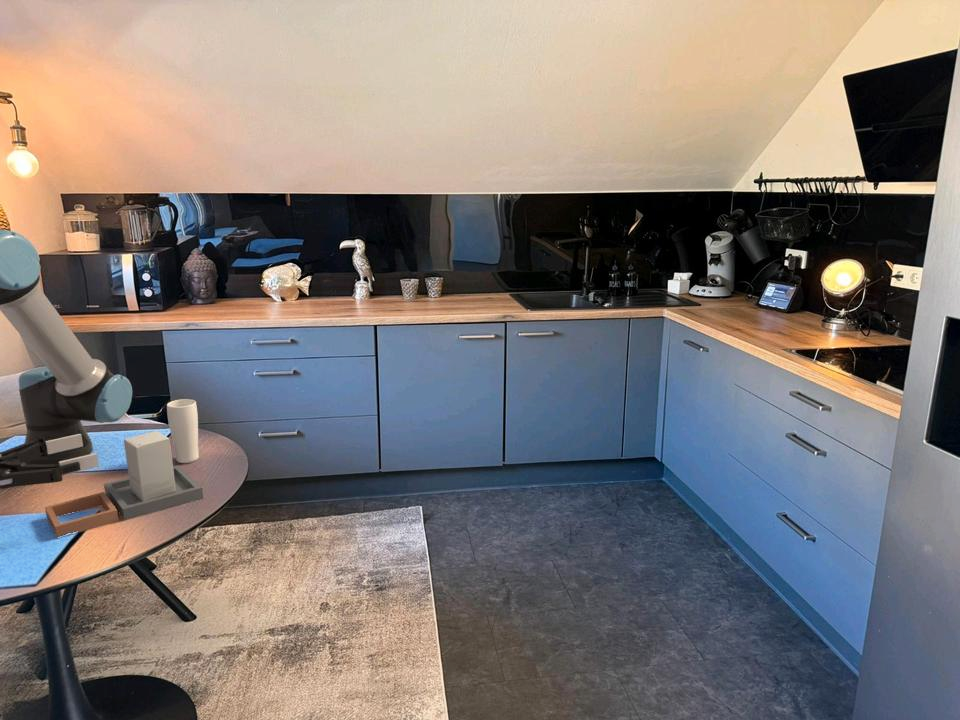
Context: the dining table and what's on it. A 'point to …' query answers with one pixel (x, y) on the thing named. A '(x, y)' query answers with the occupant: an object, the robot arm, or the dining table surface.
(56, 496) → the dining table surface
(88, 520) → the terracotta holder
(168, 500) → the charcoal tray
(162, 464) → the supplement box
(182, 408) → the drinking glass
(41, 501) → the dining table surface
